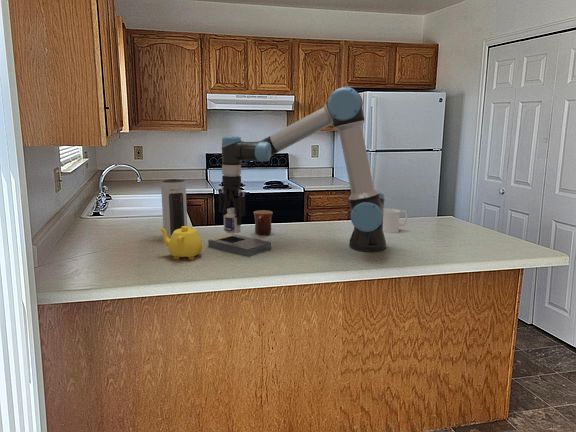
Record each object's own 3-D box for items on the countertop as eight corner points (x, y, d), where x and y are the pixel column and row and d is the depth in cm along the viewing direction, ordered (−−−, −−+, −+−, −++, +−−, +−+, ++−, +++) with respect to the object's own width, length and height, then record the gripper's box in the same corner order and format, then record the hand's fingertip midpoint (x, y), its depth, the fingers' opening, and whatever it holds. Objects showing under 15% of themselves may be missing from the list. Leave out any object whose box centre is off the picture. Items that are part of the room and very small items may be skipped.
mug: (256, 231, 228) (256, 209, 226) (274, 232, 226) (274, 210, 224) (249, 237, 216) (249, 215, 214) (268, 238, 214) (268, 215, 212)
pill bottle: (233, 234, 196) (232, 210, 194) (222, 232, 199) (222, 208, 197) (241, 231, 201) (241, 208, 199) (231, 229, 203) (230, 207, 201)
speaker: (162, 242, 207) (160, 181, 201) (163, 236, 217) (161, 178, 211) (188, 241, 209) (186, 180, 203) (187, 235, 219) (186, 177, 213)
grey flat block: (271, 249, 197) (271, 242, 197) (247, 256, 186) (247, 249, 186) (232, 240, 211) (232, 233, 210) (208, 247, 200) (208, 239, 199)
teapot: (189, 249, 196) (188, 220, 194) (210, 256, 186) (210, 226, 184) (158, 255, 187) (157, 225, 184) (179, 264, 177) (178, 232, 174)
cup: (407, 233, 227) (409, 212, 225) (381, 232, 228) (382, 211, 226) (405, 229, 235) (406, 209, 233) (380, 228, 236) (381, 208, 234)
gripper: (254, 176, 192) (254, 233, 197) (222, 172, 203) (223, 226, 208) (241, 177, 186) (242, 236, 191) (209, 173, 198) (210, 229, 202)
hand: (232, 231), depth 200 cm, fingers closed on pill bottle, 5 cm apart
